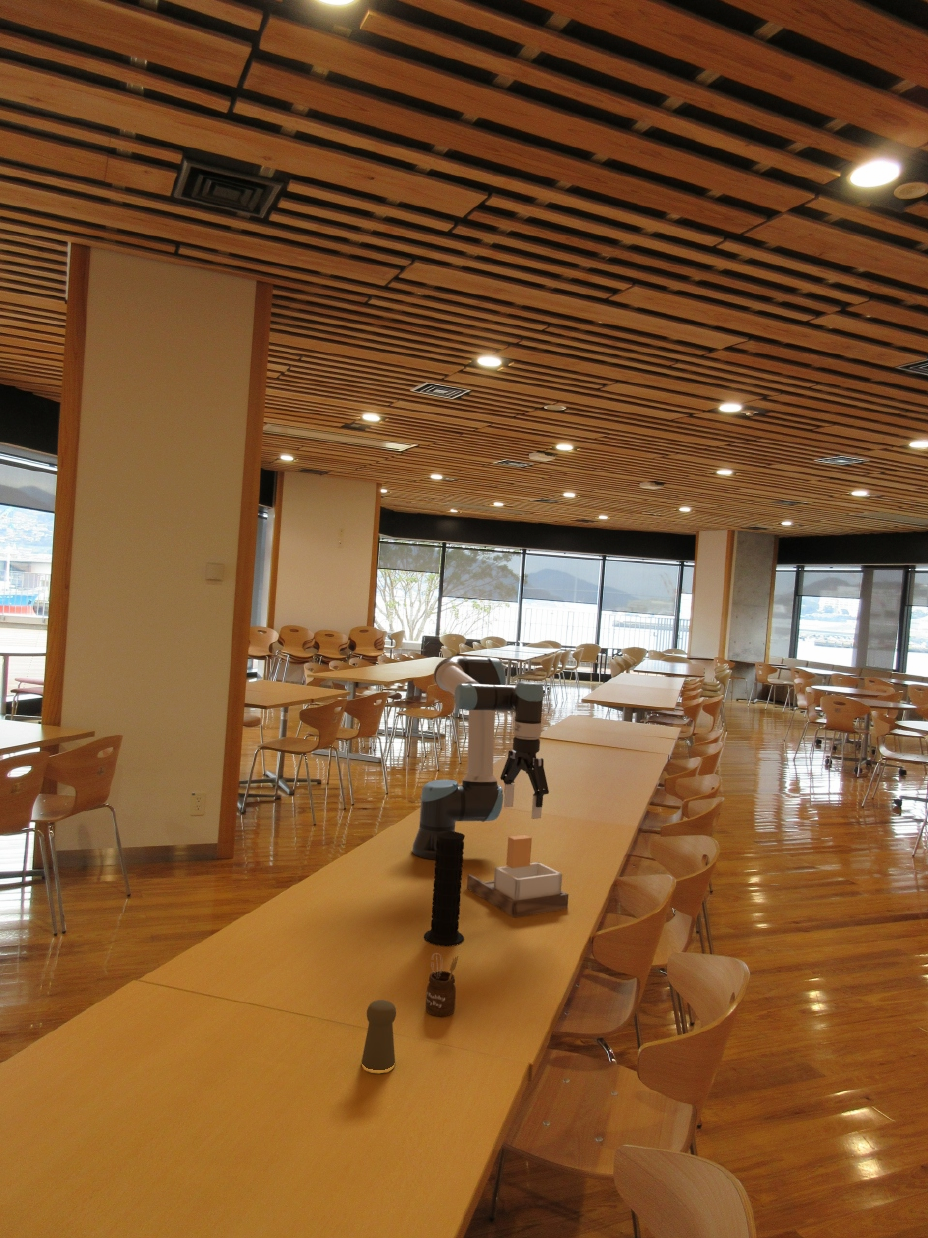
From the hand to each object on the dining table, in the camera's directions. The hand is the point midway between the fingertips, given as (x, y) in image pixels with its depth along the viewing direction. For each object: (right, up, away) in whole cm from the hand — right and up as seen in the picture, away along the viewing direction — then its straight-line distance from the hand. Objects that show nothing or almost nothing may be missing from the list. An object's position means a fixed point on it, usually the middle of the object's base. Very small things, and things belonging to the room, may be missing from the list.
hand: (522, 812), depth 242 cm
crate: (+1, -23, -3) cm, 23 cm away
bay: (-2, -24, +1) cm, 24 cm away
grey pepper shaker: (-31, -25, -89) cm, 98 cm away
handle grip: (-21, -24, -31) cm, 44 cm away
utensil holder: (-21, -25, -68) cm, 75 cm away
